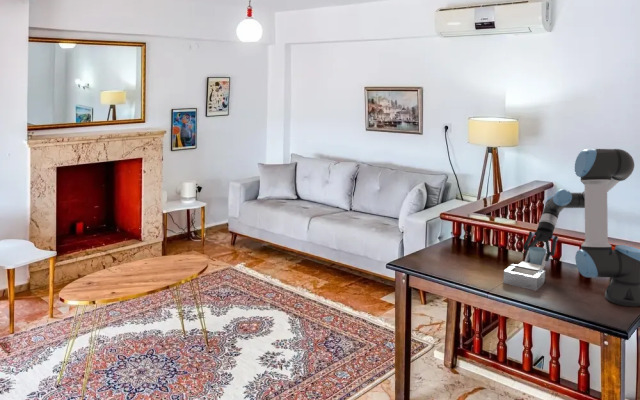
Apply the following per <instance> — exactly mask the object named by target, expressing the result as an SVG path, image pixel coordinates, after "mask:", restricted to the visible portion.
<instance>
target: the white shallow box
mask: <svg viewBox="0 0 640 400" xmlns="http://www.w3.org/2000/svg"><path fill="white" fill-rule="evenodd" d="M524 261H525V260H524ZM524 261H520V263H518V264H516V265H512V264H513V263H511V264H510V266H514V267H515V269H514V272H517V273H521V274H526V275H531V276H534V275H535V274H536V273H538V272H542V271H541V270H544V268H545V266H544V265H539V264H534V263H530V261H528V262H524ZM543 267H544V268H543Z"/></svg>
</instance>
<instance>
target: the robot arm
mask: <svg viewBox="0 0 640 400" xmlns="http://www.w3.org/2000/svg"><path fill="white" fill-rule="evenodd" d="M634 169H635V160H634V158H633V156H632V155H631V154H630V153H629V152H627V151H626V150H624V149H622V148H621V149H620V148H586V149H583V150H581V151H579V152H578V155H577V156H576V159H575V161H574V172H575V175H576V177H579V178H580V182H581V183H582V184H583V186H584V190H583V191H582V192H570V190H567V189H564V188H561V189H559V190H557V191H556V192H555V193H554V194H553V195H552V196H549V197H548V198H547V199H546V201H545V205H544V208H543V211H542V213H541V216H540V219H539V223H538V226H537V228H536V231H534V232H532V231H531V230H530V231H529V232H528V236H527V238H526V240H525V242H524V244H523V246H522V248H523V251H524V257H525V258H524V262H529V261H530V260H529V248H530V247H536V245H537V244H538V243H539V242H542V243H545V249H546V253H545V255H544V258H543V261H542V265H544V267H543V269H544V268H545V266H546V262H549V260H550V257H551V256H555V255H556V250H557V249H556V248H557V243H558V241H559V236H558V235H554V231H555V228H556V225H557V223H558V222H557V221H558V218H559V216H560V213H561V212H562V211H563V210H564V209H584V242H583V243H581V246H580V249H578V250H577V251H576V253H575V256H574V257H575V264H576V267H577V271H578V272H579V273H580V275H581V276H583V277H584V278H593V279H596V278H611V281H610V283H609V284H608V285H607V287H606V290H605V292H604V298H605V299H606V300H607V301H609V302H610V303H612V304H616V305H619V306H623V307H634V308H635V307H640V248H637V247H635V246H630V245H625V244H616V245H615V247H614V249H613V247H612V246H613V245H611V244H610V243H609V240H608V238H609V237H608V236H609V234H608V231H609V229H608V222H609V221H608V192H609V191H610V190H612V189H613V188H614V187H615V186H616V185H617V184H619V183H620V182H623V181H626V180H627V179H628V178H629V177H630V176H631V175H632V174H633V172H634ZM533 238H534V239H533ZM532 239H533V240H532ZM550 240H552V246H551V250H550V242H549V241H550Z"/></svg>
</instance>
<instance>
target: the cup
mask: <svg viewBox="0 0 640 400" xmlns="http://www.w3.org/2000/svg"><path fill="white" fill-rule="evenodd" d="M545 253H547V249H546V248H544V247H539V246H534V247H530V248H529V260H528V261H529V263H534V264H539V265H542V261H543V258H544V255H545Z"/></svg>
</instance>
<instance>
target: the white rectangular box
mask: <svg viewBox="0 0 640 400" xmlns="http://www.w3.org/2000/svg"><path fill="white" fill-rule="evenodd" d="M511 264H512V265H517V264H514V263H511ZM514 269H515V267H514V266H511V265H509V266H508V267H507V268H505V269H504V270H503V279H502V280H503V281H502V284H505V285H510V286H512V287H513V286H514V287H517V288H522V289H527V290H531V291H537V290H538V289H540V288H541V287H542V286H543V285H544V284H545V281H546V270H544V269H543V270H541V271H542V272H538V273H536V274H535V275H534V276H531V275H526V274H521V273H517V272H514Z"/></svg>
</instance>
